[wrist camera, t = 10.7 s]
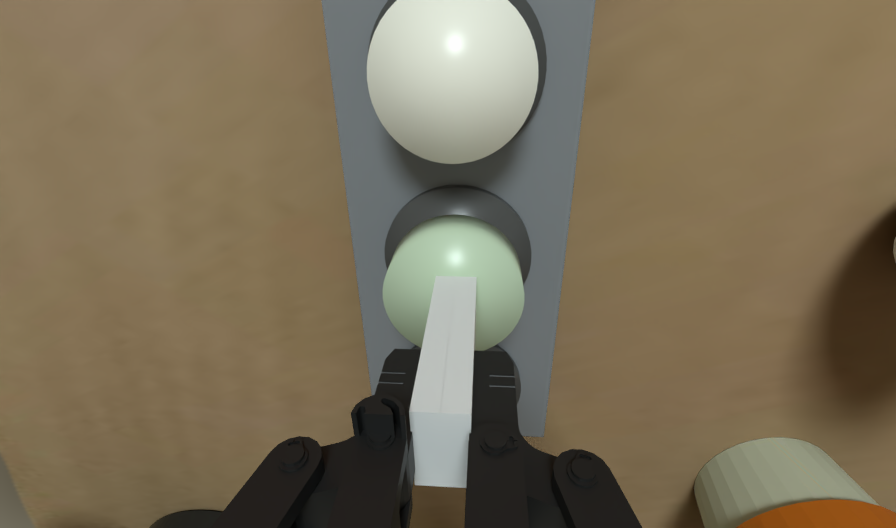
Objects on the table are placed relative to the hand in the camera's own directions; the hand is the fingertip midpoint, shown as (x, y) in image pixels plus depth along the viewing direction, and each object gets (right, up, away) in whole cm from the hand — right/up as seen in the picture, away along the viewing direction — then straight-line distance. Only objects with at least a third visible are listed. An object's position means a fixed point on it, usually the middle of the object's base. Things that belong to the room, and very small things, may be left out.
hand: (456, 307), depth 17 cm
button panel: (0, +4, +7) cm, 8 cm away
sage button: (0, +1, +2) cm, 3 cm away
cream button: (0, +9, -1) cm, 9 cm away
